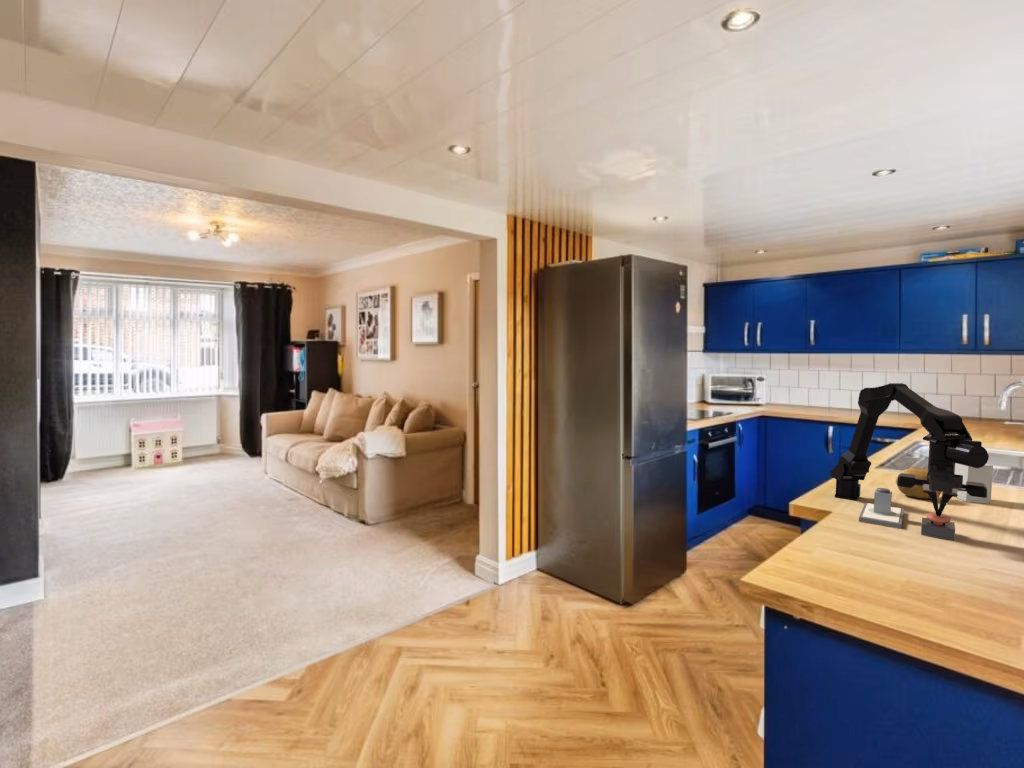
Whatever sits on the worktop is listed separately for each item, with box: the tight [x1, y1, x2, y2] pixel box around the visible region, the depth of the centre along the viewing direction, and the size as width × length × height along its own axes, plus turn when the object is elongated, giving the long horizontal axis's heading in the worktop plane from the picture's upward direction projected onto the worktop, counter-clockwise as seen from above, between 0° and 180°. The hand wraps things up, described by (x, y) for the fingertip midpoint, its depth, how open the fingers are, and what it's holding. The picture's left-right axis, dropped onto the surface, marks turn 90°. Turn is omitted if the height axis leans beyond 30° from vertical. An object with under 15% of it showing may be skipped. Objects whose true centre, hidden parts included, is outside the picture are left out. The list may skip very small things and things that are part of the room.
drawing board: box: [858, 502, 905, 529], centre depth 158 cm, size 10×18×2 cm, turn 141°
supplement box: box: [955, 463, 994, 504], centre depth 175 cm, size 7×7×13 cm
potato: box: [895, 467, 942, 500], centre depth 178 cm, size 10×12×10 cm
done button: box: [926, 512, 951, 526], centre depth 144 cm, size 5×5×4 cm
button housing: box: [920, 517, 956, 541], centre depth 144 cm, size 7×7×3 cm
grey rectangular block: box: [873, 487, 893, 515], centre depth 158 cm, size 4×4×7 cm
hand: (938, 515), depth 143 cm, fingers closed, pressing on done button
